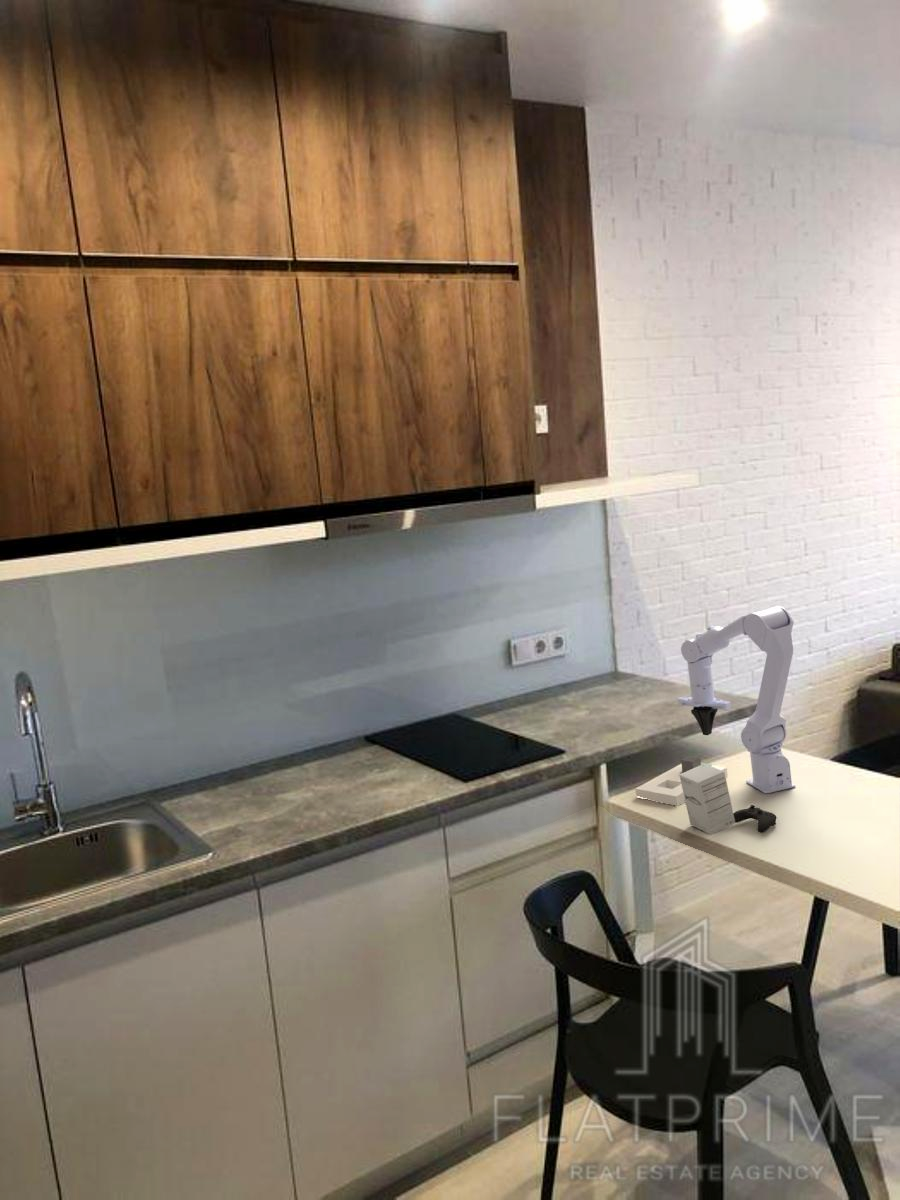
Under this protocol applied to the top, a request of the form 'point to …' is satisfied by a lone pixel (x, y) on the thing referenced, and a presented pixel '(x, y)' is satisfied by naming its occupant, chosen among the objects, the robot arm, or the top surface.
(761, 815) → the game controller
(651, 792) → the panel
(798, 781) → the top surface
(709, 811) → the supplement box
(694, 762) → the plug
